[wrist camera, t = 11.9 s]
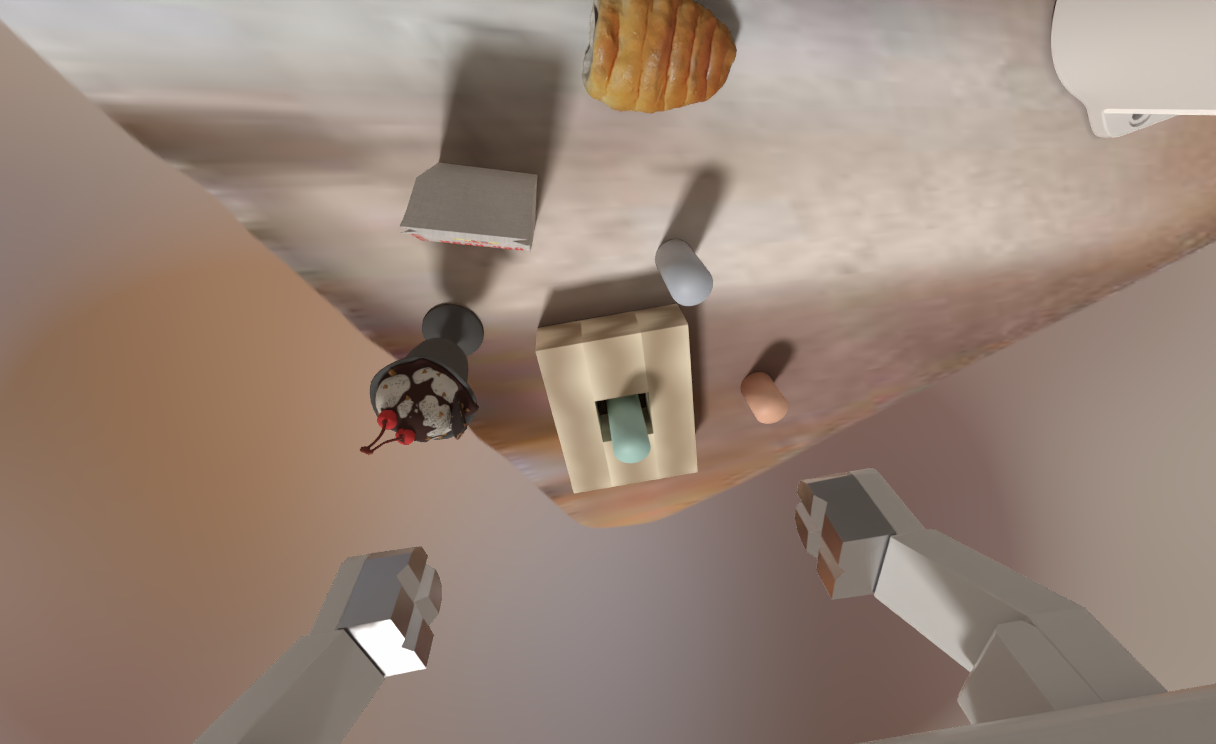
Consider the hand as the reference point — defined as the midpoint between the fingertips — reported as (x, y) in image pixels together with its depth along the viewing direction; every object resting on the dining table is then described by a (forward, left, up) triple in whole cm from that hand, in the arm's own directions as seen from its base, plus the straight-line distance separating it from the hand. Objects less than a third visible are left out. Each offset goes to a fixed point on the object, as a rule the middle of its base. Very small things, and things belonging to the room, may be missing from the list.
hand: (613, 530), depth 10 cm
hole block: (-1, +17, -29) cm, 34 cm away
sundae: (+12, +8, -29) cm, 33 cm away
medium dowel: (-7, +5, -29) cm, 30 cm away
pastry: (-6, -9, -30) cm, 32 cm away
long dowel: (-1, +17, -29) cm, 34 cm away
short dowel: (-14, +19, -29) cm, 38 cm away
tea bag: (+6, -2, -29) cm, 30 cm away
